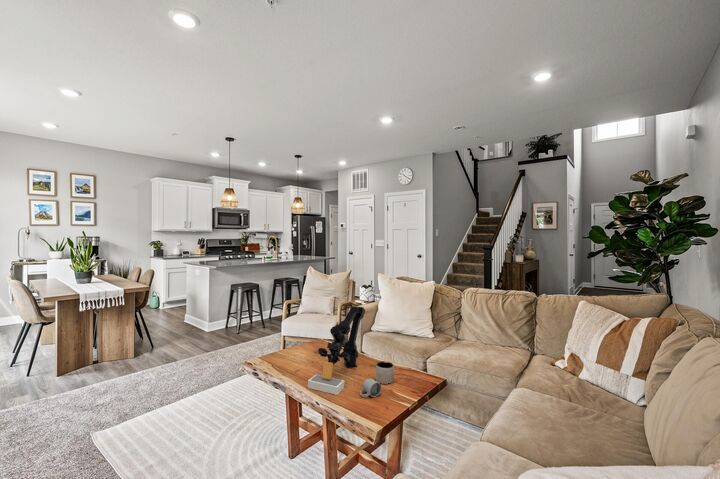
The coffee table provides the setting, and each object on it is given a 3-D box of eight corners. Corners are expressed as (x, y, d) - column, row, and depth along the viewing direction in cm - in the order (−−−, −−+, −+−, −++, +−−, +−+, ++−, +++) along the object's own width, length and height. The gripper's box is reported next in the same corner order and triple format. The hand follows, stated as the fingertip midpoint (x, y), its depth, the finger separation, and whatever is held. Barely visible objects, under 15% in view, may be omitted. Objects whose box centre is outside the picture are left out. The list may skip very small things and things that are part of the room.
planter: (378, 385, 189) (379, 369, 189) (372, 377, 199) (373, 361, 199) (396, 384, 192) (397, 367, 191) (389, 376, 202) (390, 360, 202)
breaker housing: (315, 381, 191) (316, 373, 191) (344, 387, 184) (344, 380, 184) (307, 387, 182) (308, 380, 182) (337, 394, 176) (337, 386, 176)
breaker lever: (323, 377, 185) (325, 361, 186) (331, 378, 183) (333, 363, 185) (321, 377, 183) (323, 361, 185) (329, 379, 182) (331, 363, 183)
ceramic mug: (372, 389, 184) (372, 375, 184) (381, 395, 177) (381, 381, 177) (356, 393, 178) (357, 379, 178) (365, 400, 171) (365, 386, 171)
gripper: (319, 334, 194) (309, 359, 183) (349, 339, 187) (339, 365, 177) (325, 343, 201) (315, 367, 191) (353, 348, 194) (345, 374, 184)
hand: (328, 368), depth 185 cm, fingers closed
